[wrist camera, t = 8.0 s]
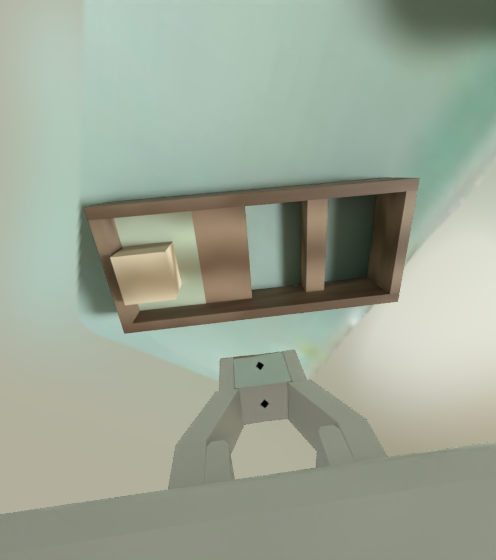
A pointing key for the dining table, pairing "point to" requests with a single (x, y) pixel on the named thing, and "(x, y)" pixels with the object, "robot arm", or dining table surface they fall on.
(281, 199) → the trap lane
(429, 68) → the dining table surface
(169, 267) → the block
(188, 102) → the dining table surface
